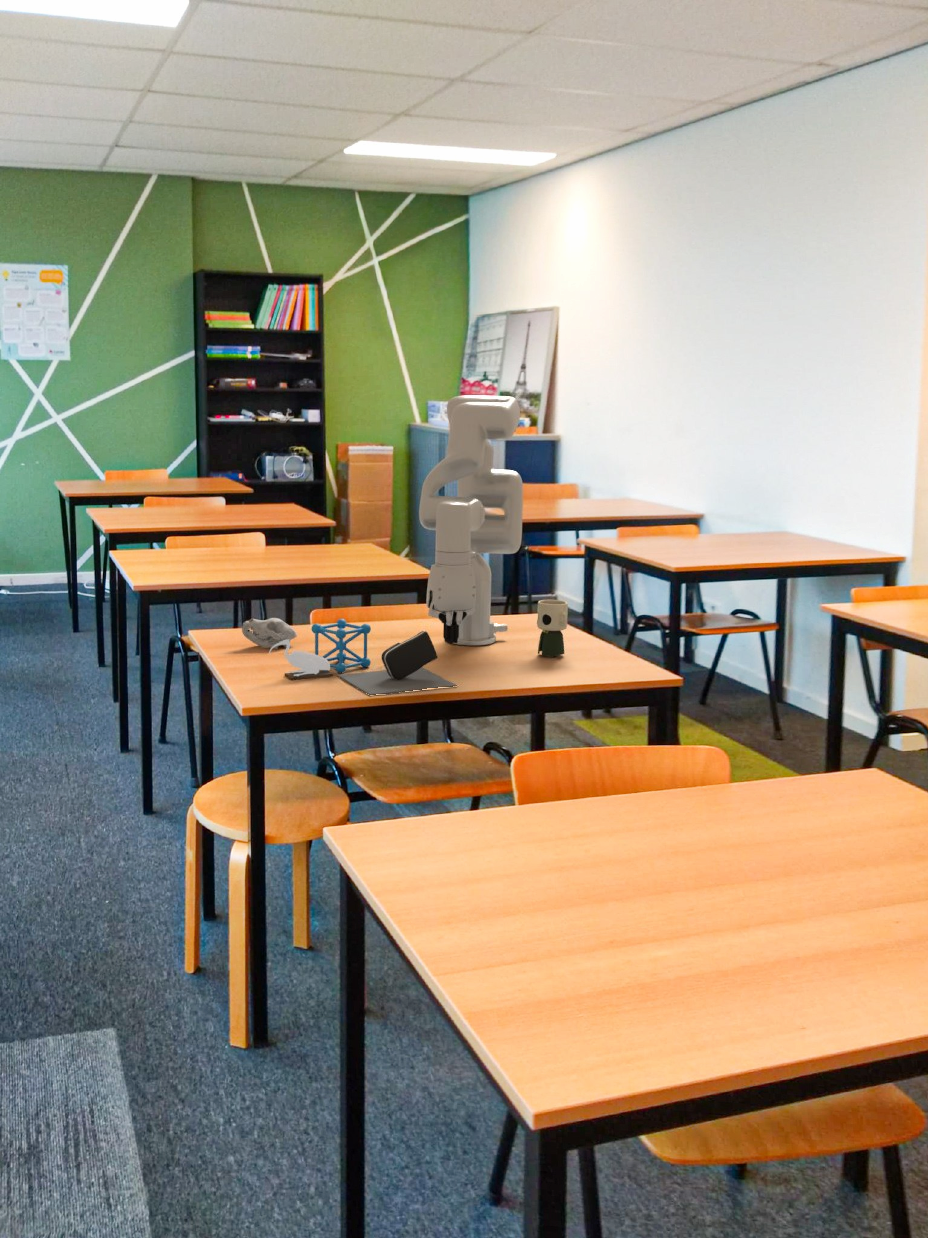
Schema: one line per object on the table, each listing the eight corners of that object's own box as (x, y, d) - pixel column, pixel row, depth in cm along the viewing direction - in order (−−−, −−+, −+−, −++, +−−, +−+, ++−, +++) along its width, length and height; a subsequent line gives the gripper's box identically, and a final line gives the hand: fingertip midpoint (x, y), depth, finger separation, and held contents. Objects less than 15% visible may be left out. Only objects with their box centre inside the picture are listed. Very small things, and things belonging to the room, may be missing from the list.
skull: (302, 637, 298) (266, 606, 292) (277, 665, 297) (240, 634, 292) (295, 629, 305) (259, 598, 300) (270, 656, 304) (234, 625, 299)
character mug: (525, 652, 299) (527, 599, 296) (549, 650, 302) (551, 597, 300) (552, 662, 290) (554, 607, 287) (576, 659, 293) (579, 604, 291)
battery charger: (420, 627, 272) (376, 652, 268) (427, 630, 269) (383, 655, 265) (431, 655, 275) (388, 680, 270) (439, 658, 271) (396, 683, 267)
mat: (420, 668, 281) (420, 666, 281) (457, 687, 265) (457, 685, 265) (337, 676, 272) (337, 674, 272) (370, 696, 256) (370, 694, 256)
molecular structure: (309, 667, 280) (309, 623, 278) (341, 660, 287) (341, 617, 285) (340, 674, 274) (340, 630, 272) (372, 667, 281) (373, 623, 279)
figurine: (272, 683, 266) (271, 643, 264) (265, 678, 269) (265, 639, 268) (334, 677, 272) (334, 638, 270) (327, 673, 276) (326, 634, 274)
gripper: (475, 554, 276) (473, 636, 279) (413, 557, 269) (412, 641, 272) (491, 559, 269) (489, 642, 273) (429, 562, 262) (427, 648, 266)
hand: (450, 642), depth 273 cm, fingers closed
